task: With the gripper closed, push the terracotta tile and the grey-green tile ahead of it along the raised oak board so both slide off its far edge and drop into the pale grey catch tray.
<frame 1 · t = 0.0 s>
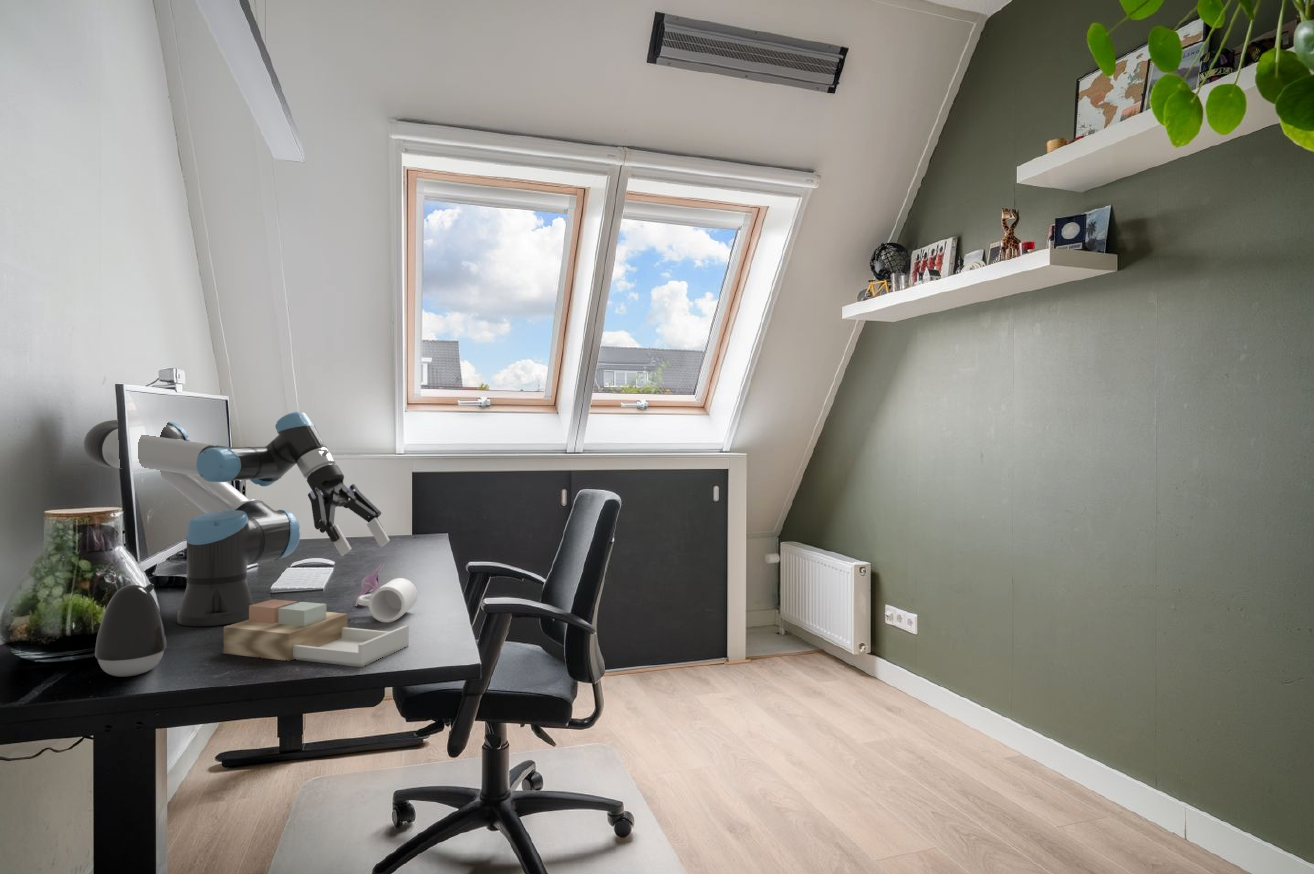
hand: (366, 548, 175), 15 cm above the table, tool tilted 35°, fingers open, 13 cm apart
tile grey: (302, 621, 149), point 5 cm above the table, touching oak board
lily: (370, 603, 187), on the table
oak board: (287, 645, 150), on the table
catch tray: (352, 652, 146), on the table
grey egg-shaped pod: (131, 673, 133), on the table
tile terracotta: (273, 618, 151), point 5 cm above the table, touching oak board
mug: (384, 618, 173), on the table
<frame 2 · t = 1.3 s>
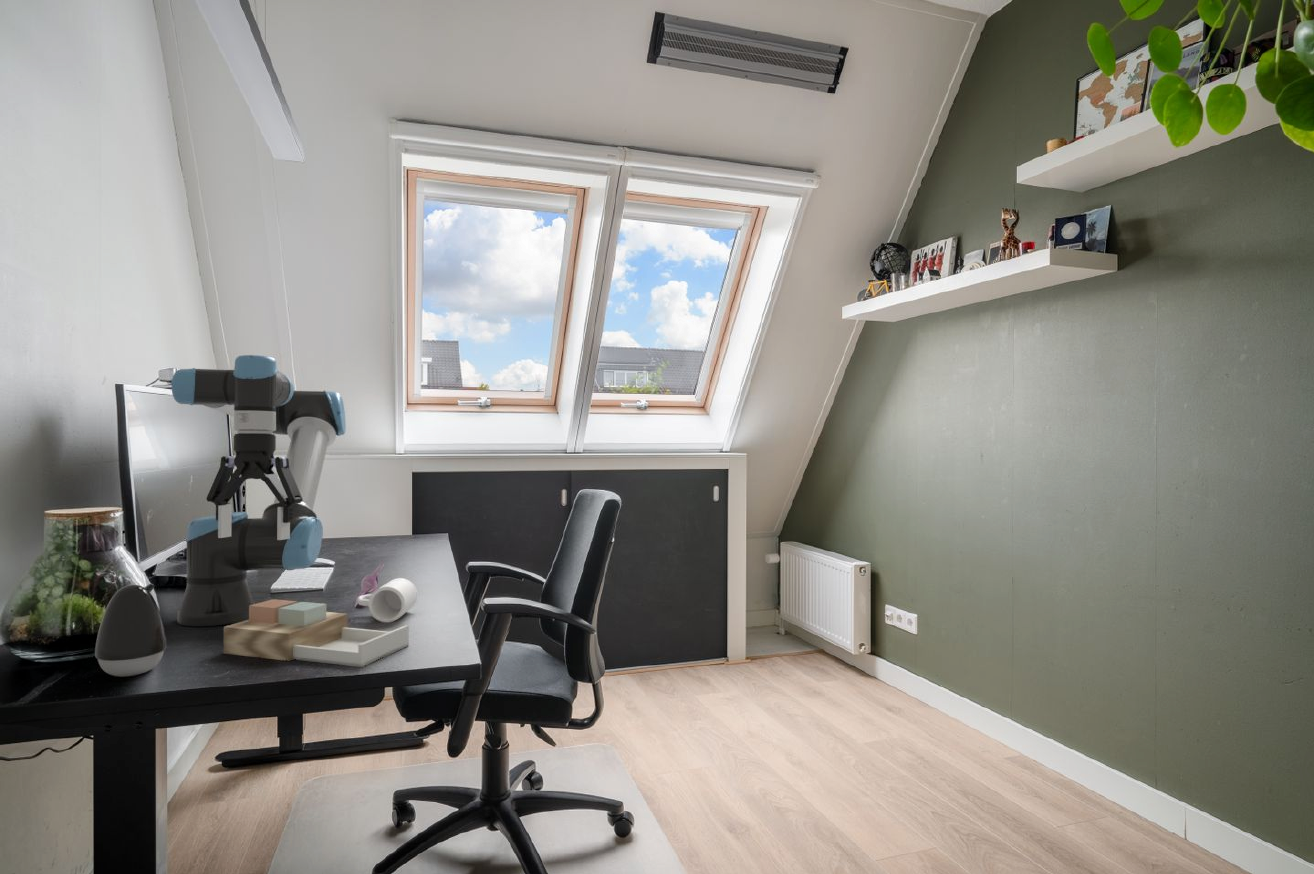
hand: (253, 538, 154), 20 cm above the table, tool pointing down, fingers open, 13 cm apart
nothing on the table moved.
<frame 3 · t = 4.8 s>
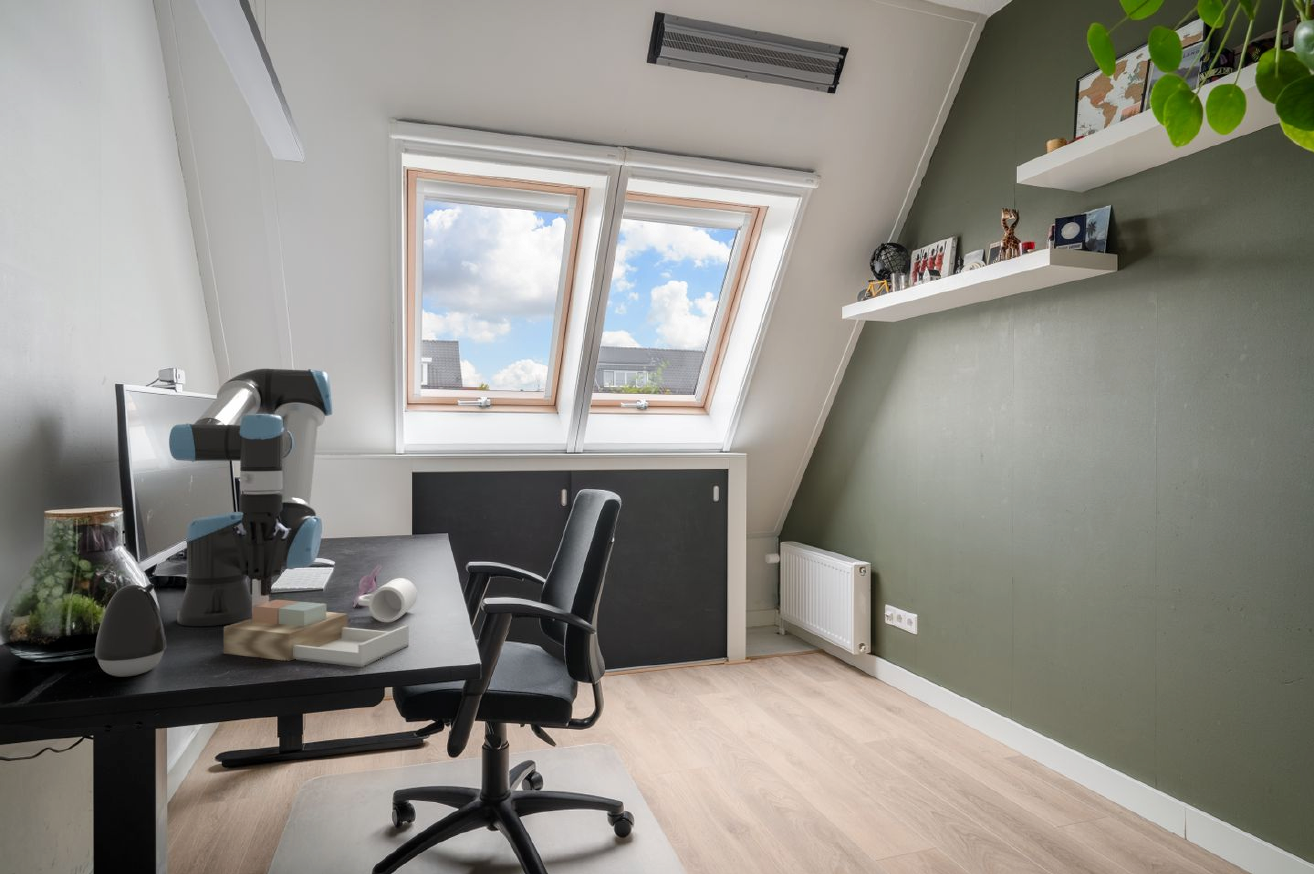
hand: (260, 611, 151), 6 cm above the table, tool pointing down, fingers closed
tile terracotta: (276, 619, 150), point 5 cm above the table, touching gripper
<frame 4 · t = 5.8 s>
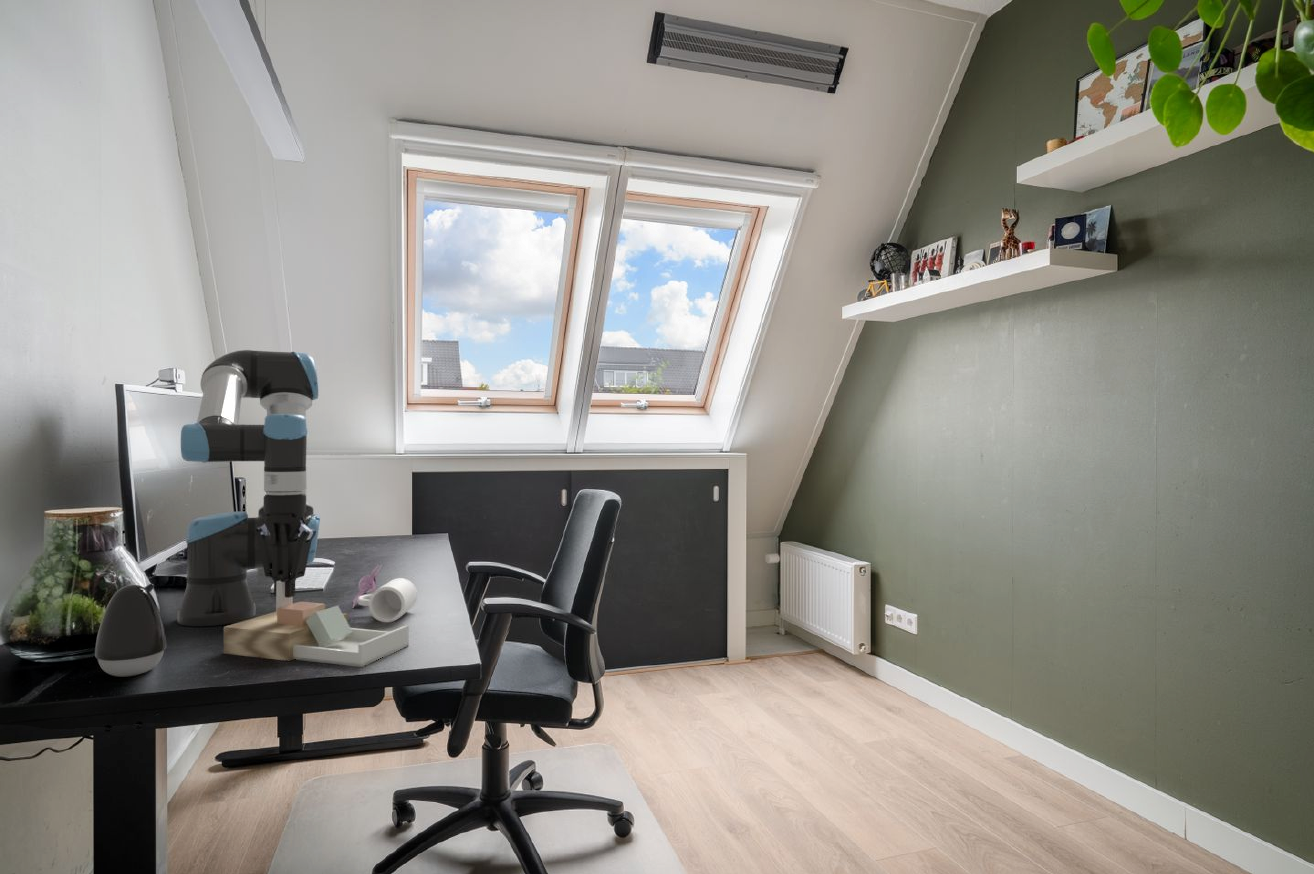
hand: (284, 613, 150), 6 cm above the table, tool pointing down, fingers closed
tile grey: (324, 630, 147), point 4 cm above the table, tilted 55°
tile terracotta: (301, 621, 149), point 5 cm above the table, touching gripper
everything else where it was.
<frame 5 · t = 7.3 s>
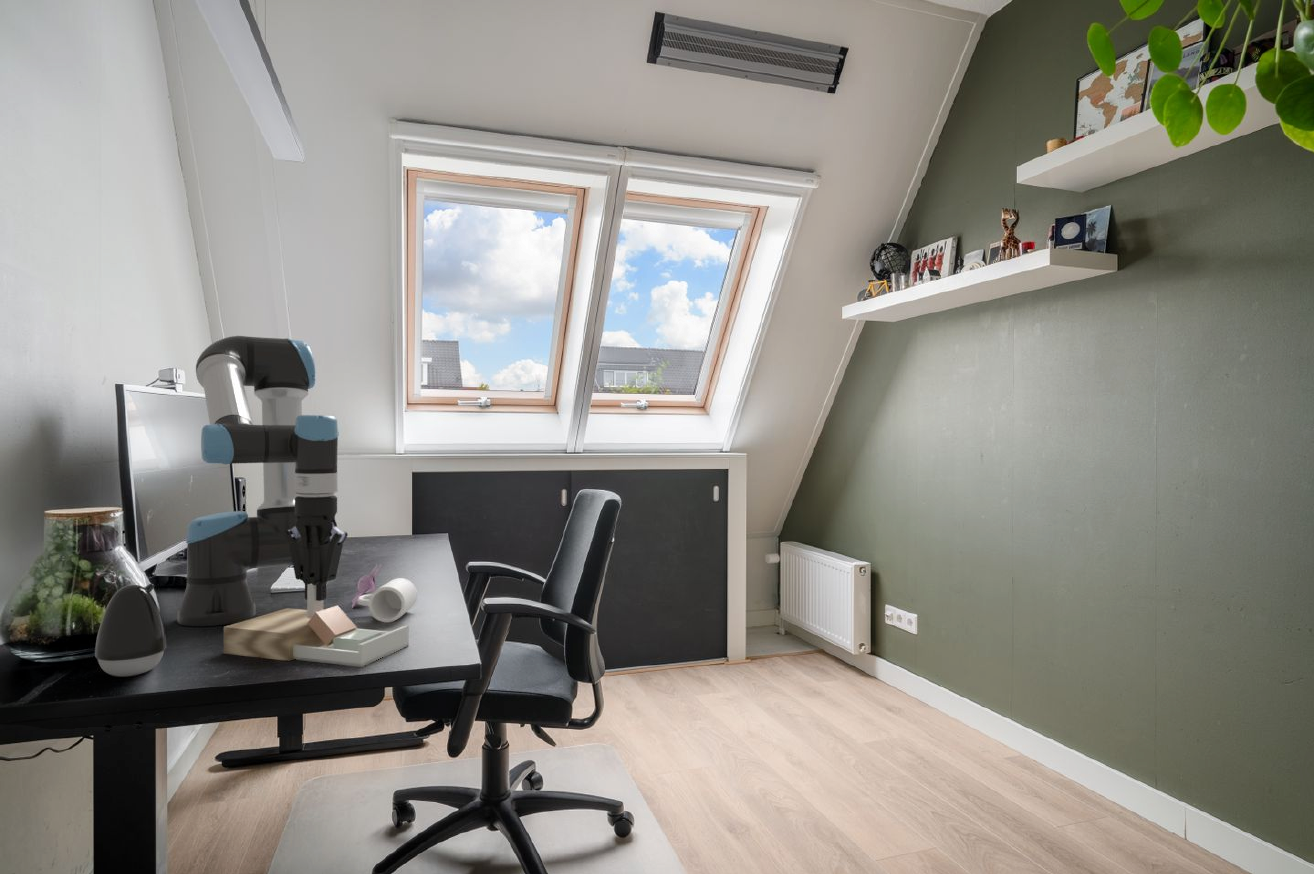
hand: (315, 616, 148), 6 cm above the table, tool pointing down, fingers closed
tile grey: (357, 634, 145), point 4 cm above the table, tilted 180°, touching tile terracotta
tile terracotta: (327, 630, 147), point 4 cm above the table, tilted 41°, touching gripper, tile grey
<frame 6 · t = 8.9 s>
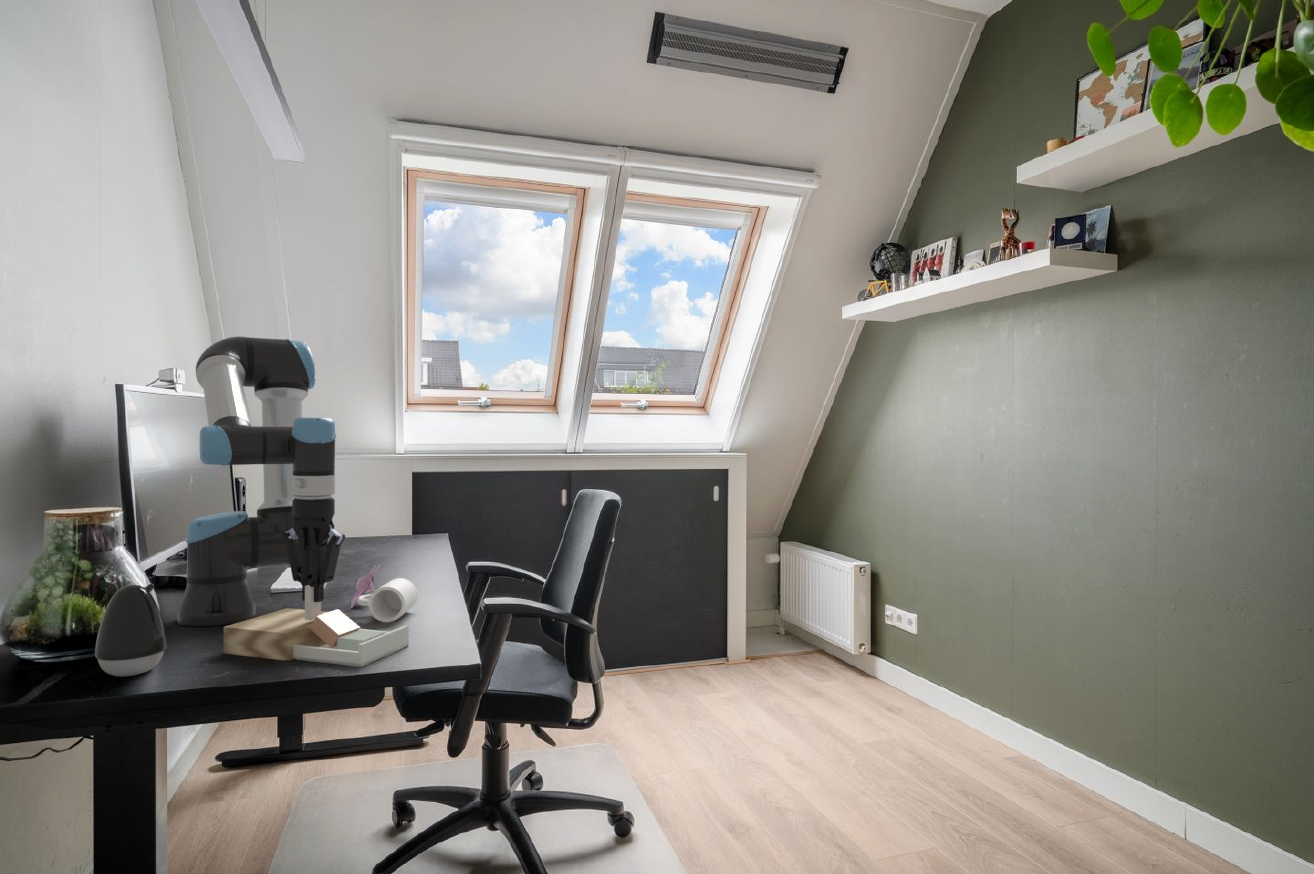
hand: (312, 618, 148), 6 cm above the table, tool pointing down, fingers closed
tile grey: (361, 634, 145), point 4 cm above the table, tilted 180°, touching catch tray, tile terracotta
tile terracotta: (331, 634, 147), point 3 cm above the table, tilted 32°, touching oak board, tile grey
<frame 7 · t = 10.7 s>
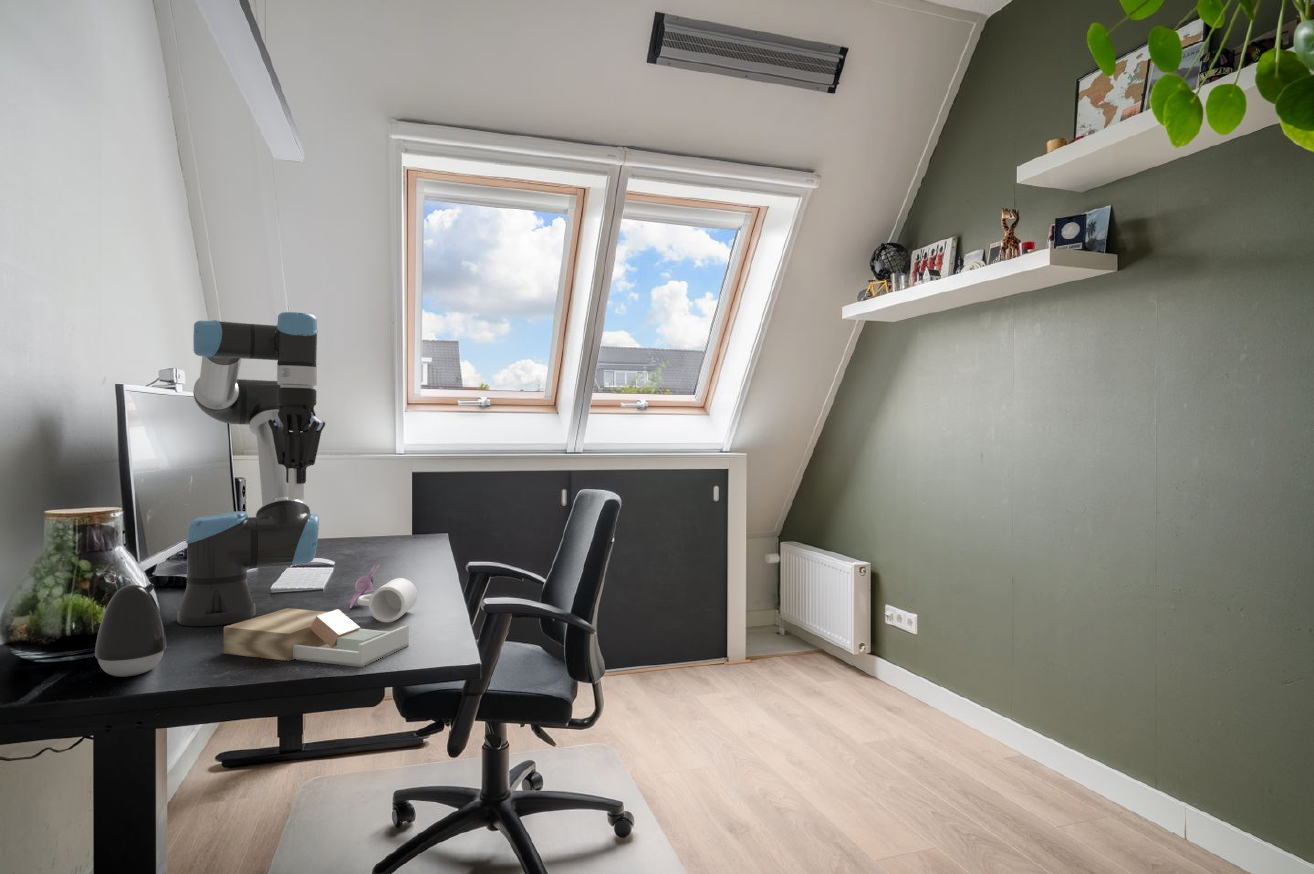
hand: (295, 498, 161), 28 cm above the table, tool pointing down, fingers closed
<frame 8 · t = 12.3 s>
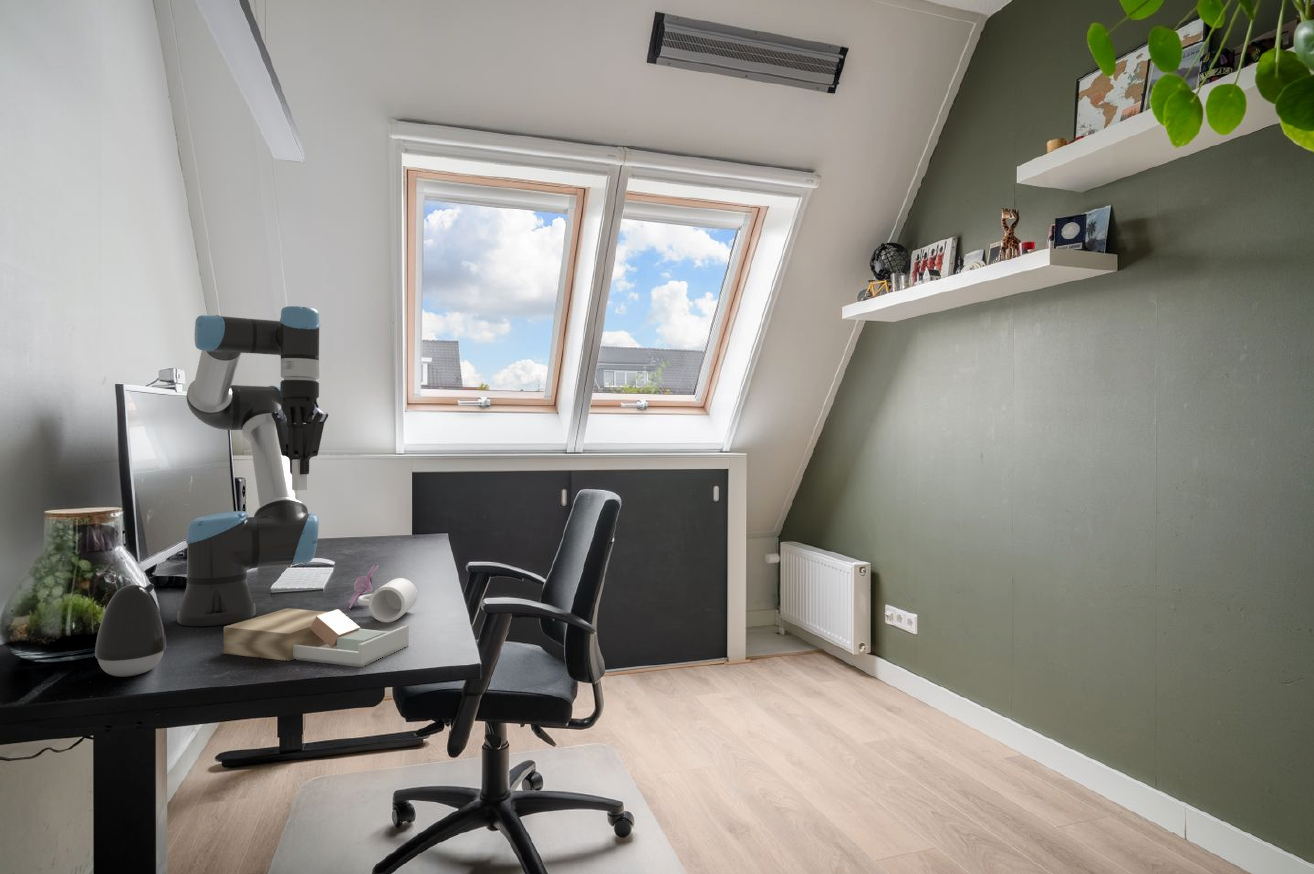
hand: (299, 489, 164), 29 cm above the table, tool pointing down, fingers closed
at the end: tile terracotta inside the target area on the catch tray (5.2 cm from its centre), point 3.0 cm above the catch tray's base; tile grey inside the target area on the catch tray (1.6 cm from its centre), point 3.5 cm above the catch tray's base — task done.
